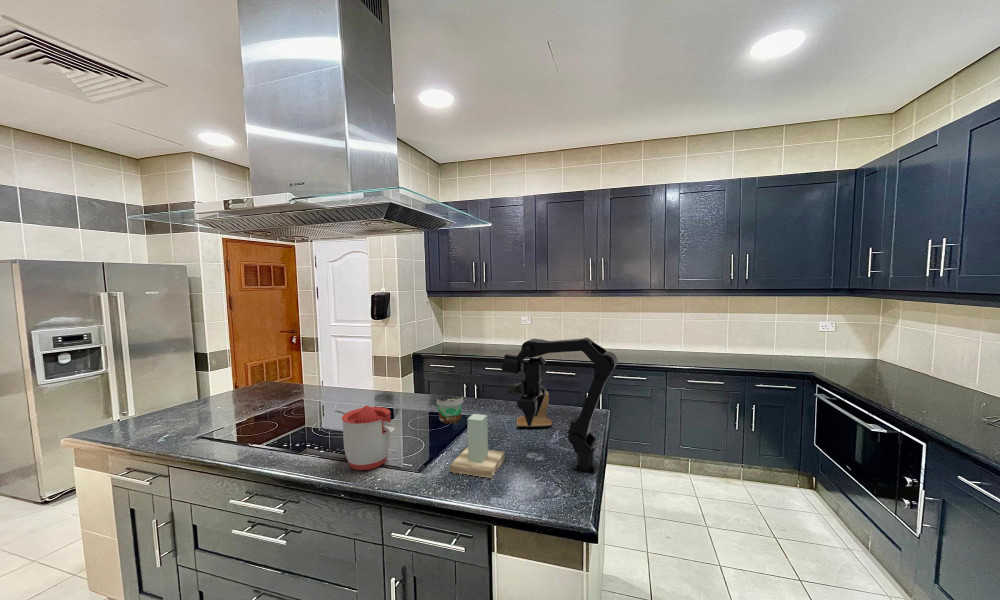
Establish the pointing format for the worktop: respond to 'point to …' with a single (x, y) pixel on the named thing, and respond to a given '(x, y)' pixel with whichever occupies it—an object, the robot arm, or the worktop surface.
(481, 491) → the worktop surface
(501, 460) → the birch base
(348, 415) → the citrus juicer
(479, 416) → the sage block
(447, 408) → the food container
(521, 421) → the stone cup
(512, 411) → the worktop surface
